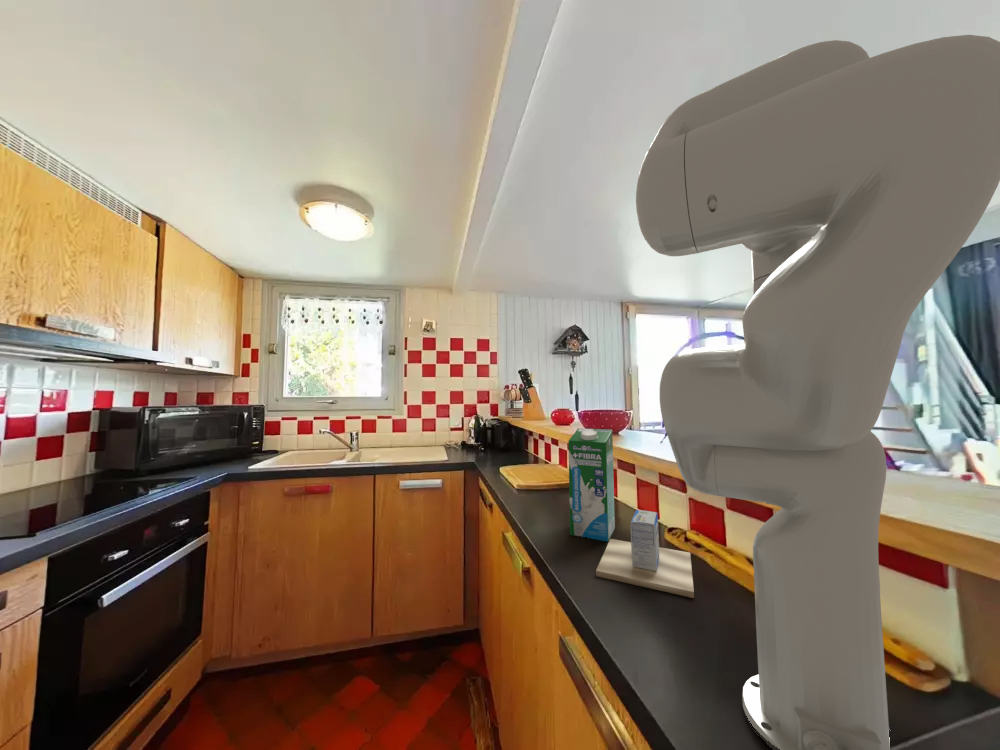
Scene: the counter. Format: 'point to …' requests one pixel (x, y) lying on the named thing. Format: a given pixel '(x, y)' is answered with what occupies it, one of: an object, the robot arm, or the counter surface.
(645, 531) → the medicine box
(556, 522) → the counter surface
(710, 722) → the counter surface
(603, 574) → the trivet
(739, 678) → the counter surface
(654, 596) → the counter surface
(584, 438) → the milk carton
